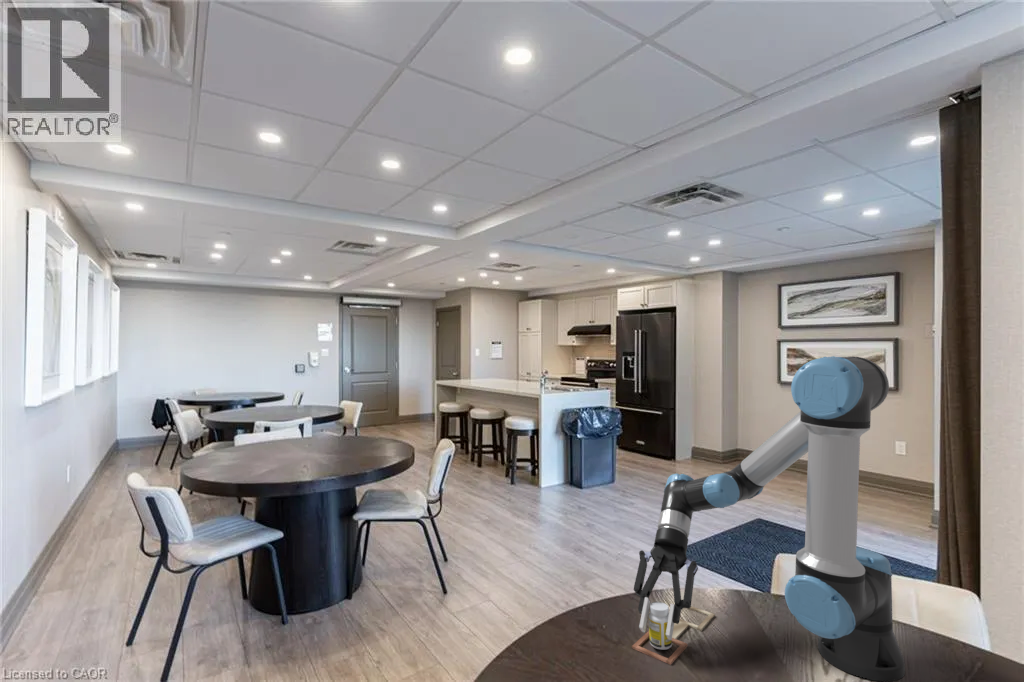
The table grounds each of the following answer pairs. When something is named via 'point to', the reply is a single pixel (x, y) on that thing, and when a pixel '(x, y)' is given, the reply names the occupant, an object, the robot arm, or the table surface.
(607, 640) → the table surface
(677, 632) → the linked wooden frames
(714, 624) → the table surface
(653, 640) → the supplement bottle
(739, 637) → the table surface
